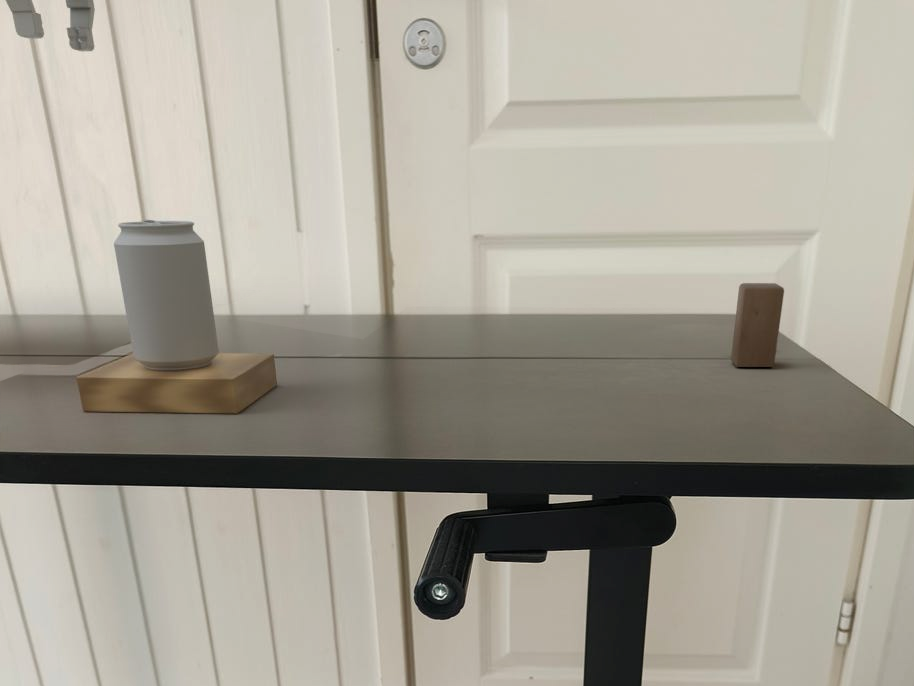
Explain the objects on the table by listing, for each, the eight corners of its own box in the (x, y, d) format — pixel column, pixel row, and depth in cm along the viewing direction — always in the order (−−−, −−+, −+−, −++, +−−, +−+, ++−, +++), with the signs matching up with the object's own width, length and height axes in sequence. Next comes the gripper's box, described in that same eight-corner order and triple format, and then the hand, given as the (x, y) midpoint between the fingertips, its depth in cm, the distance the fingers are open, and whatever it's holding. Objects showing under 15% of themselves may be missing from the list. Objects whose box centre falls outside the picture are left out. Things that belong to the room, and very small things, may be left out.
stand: (82, 411, 80) (75, 376, 79) (140, 383, 91) (134, 352, 89) (237, 414, 79) (233, 378, 78) (277, 385, 90) (274, 353, 88)
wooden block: (735, 368, 95) (744, 287, 92) (730, 361, 99) (739, 282, 95) (774, 369, 95) (785, 287, 91) (767, 361, 99) (778, 282, 95)
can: (162, 375, 79) (137, 223, 73) (119, 365, 83) (93, 220, 78) (236, 363, 84) (218, 219, 78) (191, 353, 88) (171, 217, 83)
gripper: (49, -115, 86) (79, 57, 93) (-90, -191, 68) (-40, 30, 75) (113, -118, 86) (139, 56, 92) (-10, -195, 68) (33, 28, 74)
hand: (58, 44), depth 83 cm, fingers open, 8 cm apart
